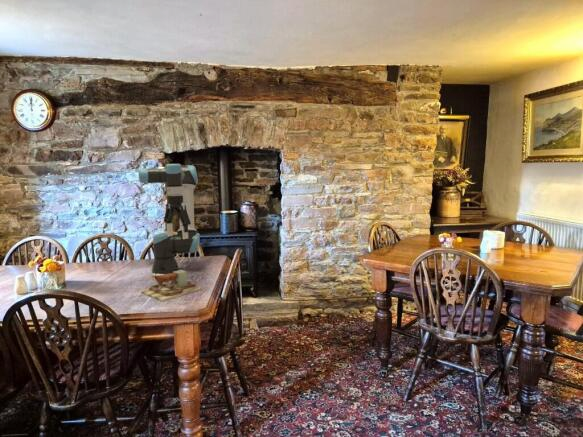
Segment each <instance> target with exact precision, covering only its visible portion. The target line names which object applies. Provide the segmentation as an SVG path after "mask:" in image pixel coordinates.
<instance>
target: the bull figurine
mask: <svg viewBox="0 0 583 437" xmlns="http://www.w3.org/2000/svg"><path fill="white" fill-rule="evenodd" d="M177 277H178V274H177V273H170V274H155V273H152V274H151V275H150V276H149V279H150V280H152V281H154V282H155V283H156V284H159V289H158V290H160V289H161V288H163V286H162V284H163V283H167V284H169V283H171V285H170V286H169V287H171V286H172V285H173V283H174V284H175V286H174V288H175V287H176V286H177V281H176V279H177Z"/></svg>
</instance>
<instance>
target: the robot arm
mask: <svg viewBox="0 0 583 437" xmlns="http://www.w3.org/2000/svg"><path fill="white" fill-rule="evenodd" d="M196 169H197V168H196V167H195V166H194V165H193V164H192V165H190V164H180V163H167V164H165V165H164V166H160V167H157V168H156V167H155V168H153V167H151V168H147V167H146V168H139V170H138V180H139V182H140V184H163V185H166V194H167V204H166V205H165V208H166V209H165V213H164V217H163V222H164V223H165V224H166V229H167V230H166V231H165V232H160V233H156V234H154V235H153V238H152V245H153V258H154V259H153V263H152V267H151V273H152V274H153V273H155V274H170V273H173V272H174V271H178V270H180V268H179V265H178V262H177V260H176V257H175V255H176V254H179V255H180V254H193V253H197V252H199V248H200V241H201V239H200V237H201V235H200V233H199V232H198V230H197V229H196V228H195V207H194V206H195V205H194V204H195V203H194V202H195V201H194V189H196V187H197V186H196V185H198V184H199V179H198V175H197V170H196ZM175 215H176V216H177V217H178V218H179V229H177V232H176V233H175V234H174V231H173V229H174V228H173V220H174V217H175Z"/></svg>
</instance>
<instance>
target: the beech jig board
mask: <svg viewBox="0 0 583 437" xmlns="http://www.w3.org/2000/svg"><path fill="white" fill-rule="evenodd" d="M170 285H171V282H169V284H167V283H163V284H162V286H163V288H161V289H160V290H158V289H159V284H157V283H156V284H152V285H150V286H148V289H143V290H141V291H140V294H142V295H144V296H147V297H150V298H152V299H155V300H158V301H160V302H166V301H170V300H172V299H175V298H178V297H182V296H186V295H188V294H192V293H195V292H199V291H202V289H203V288H202V287H200V286H197V282H193V281H190V280H188V285H185V286H181V287H175V288H174V283H173V285H172V286H171V287H169V286H170Z"/></svg>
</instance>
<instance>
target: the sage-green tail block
mask: <svg viewBox="0 0 583 437" xmlns="http://www.w3.org/2000/svg"><path fill="white" fill-rule="evenodd" d="M173 273H177V274H178V277H177V279H176V281H177V286H176V287H181V286H185V285H188V281H189V280H188V271H187V270H184V269H179V270H178V271H174V272H173ZM174 286H175V284H174Z"/></svg>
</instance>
